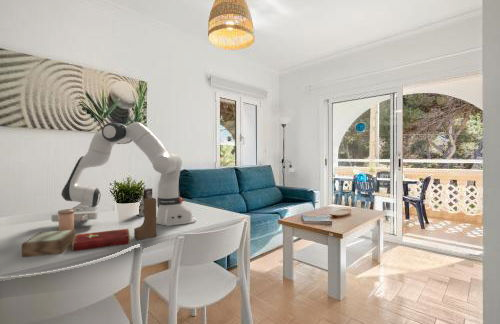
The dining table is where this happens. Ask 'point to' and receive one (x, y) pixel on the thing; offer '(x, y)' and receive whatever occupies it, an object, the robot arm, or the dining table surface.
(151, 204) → the wooden block
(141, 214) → the coffee box
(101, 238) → the hardcover book
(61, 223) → the terracotta jar
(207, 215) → the dining table surface
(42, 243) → the walnut pedestal
